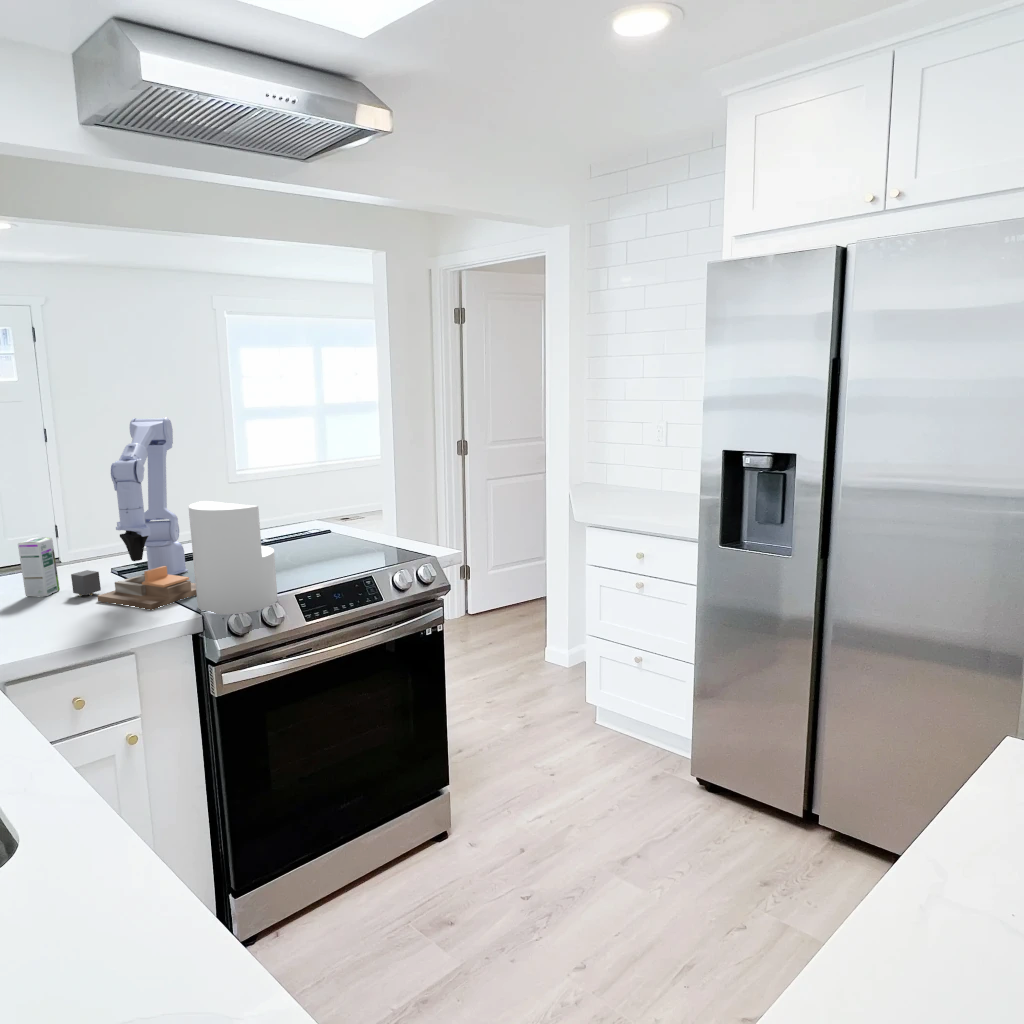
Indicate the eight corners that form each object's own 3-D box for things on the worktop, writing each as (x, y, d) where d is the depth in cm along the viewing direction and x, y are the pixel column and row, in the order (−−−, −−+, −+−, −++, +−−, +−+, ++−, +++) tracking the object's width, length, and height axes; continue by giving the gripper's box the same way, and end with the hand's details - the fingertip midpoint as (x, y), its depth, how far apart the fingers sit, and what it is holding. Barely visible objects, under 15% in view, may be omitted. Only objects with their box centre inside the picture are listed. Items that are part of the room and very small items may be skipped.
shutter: (168, 576, 203) (167, 565, 202) (189, 579, 199) (188, 567, 199) (142, 584, 196) (140, 572, 195) (163, 587, 192) (162, 575, 192)
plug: (83, 590, 206) (81, 569, 205) (101, 593, 203) (98, 571, 202) (67, 595, 202) (65, 573, 201) (85, 598, 199) (82, 576, 198)
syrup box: (47, 596, 201) (39, 541, 198) (24, 597, 201) (17, 542, 198) (60, 590, 207) (53, 537, 204) (38, 590, 207) (31, 537, 204)
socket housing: (157, 583, 212) (156, 569, 211) (209, 590, 204) (207, 575, 203) (98, 601, 196) (96, 586, 195) (151, 610, 188) (149, 594, 187)
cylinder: (230, 619, 181) (221, 513, 176) (181, 606, 191) (171, 505, 186) (293, 598, 196) (286, 500, 191) (245, 588, 206) (238, 494, 202)
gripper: (102, 507, 198) (108, 559, 201) (127, 513, 189) (133, 567, 191) (130, 503, 203) (136, 553, 206) (156, 509, 194) (162, 562, 197)
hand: (136, 560), depth 199 cm, fingers closed
